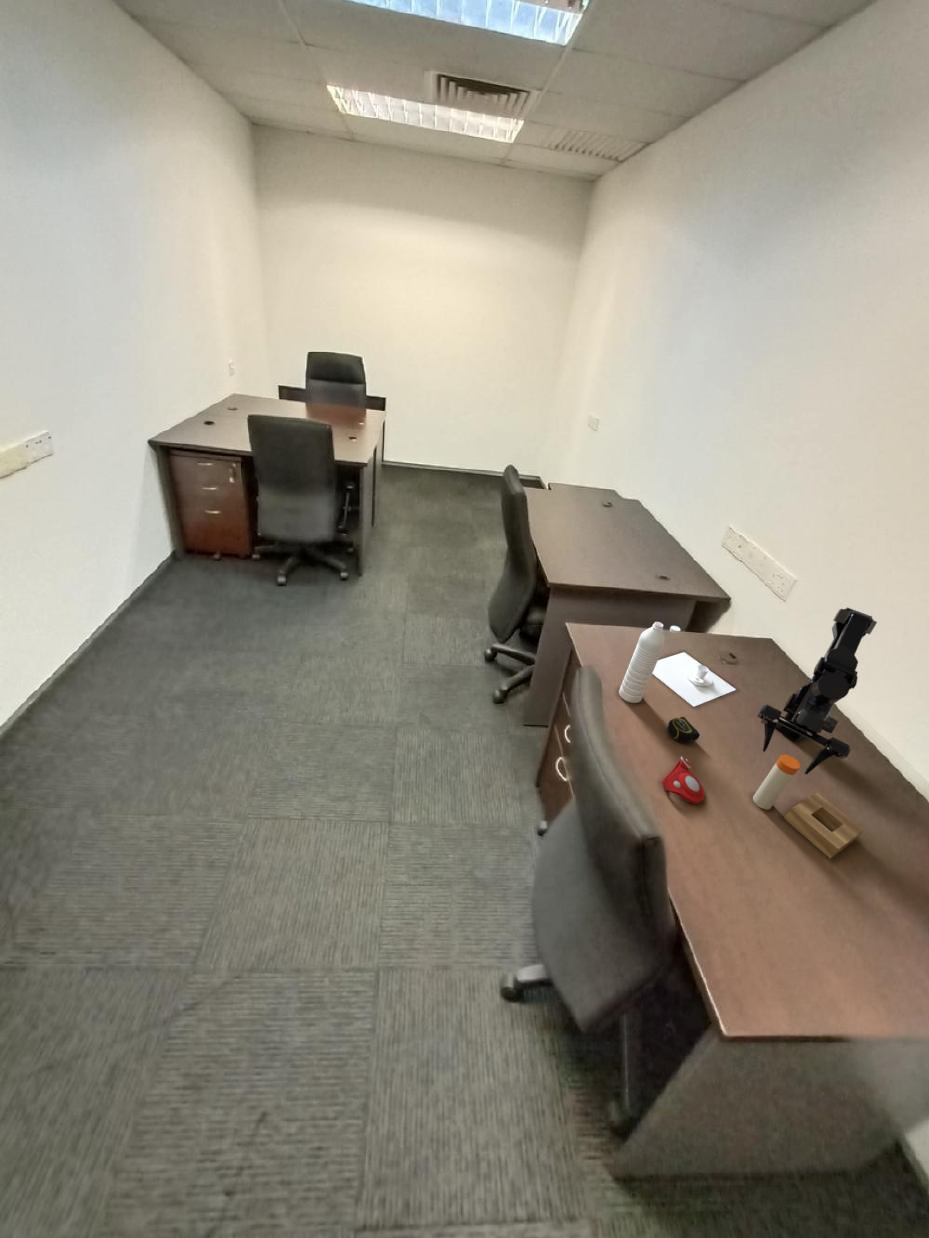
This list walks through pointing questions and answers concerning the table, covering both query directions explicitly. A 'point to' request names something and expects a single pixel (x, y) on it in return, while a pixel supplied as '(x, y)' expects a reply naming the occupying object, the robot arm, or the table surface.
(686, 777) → the tracker holder
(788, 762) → the glue stick
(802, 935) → the table surface
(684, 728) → the tape measure
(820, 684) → the robot arm
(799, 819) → the holder
